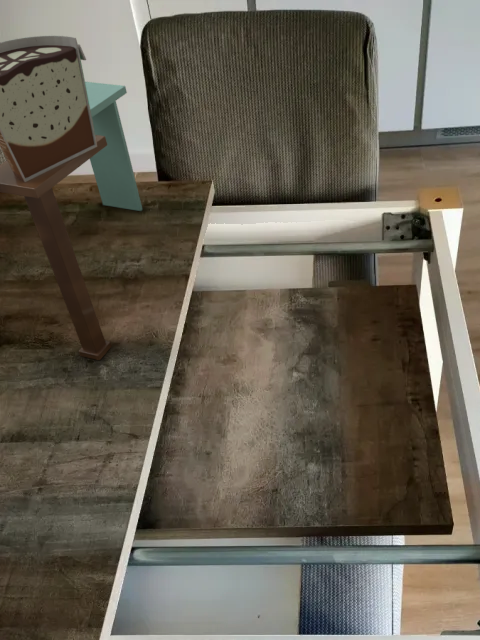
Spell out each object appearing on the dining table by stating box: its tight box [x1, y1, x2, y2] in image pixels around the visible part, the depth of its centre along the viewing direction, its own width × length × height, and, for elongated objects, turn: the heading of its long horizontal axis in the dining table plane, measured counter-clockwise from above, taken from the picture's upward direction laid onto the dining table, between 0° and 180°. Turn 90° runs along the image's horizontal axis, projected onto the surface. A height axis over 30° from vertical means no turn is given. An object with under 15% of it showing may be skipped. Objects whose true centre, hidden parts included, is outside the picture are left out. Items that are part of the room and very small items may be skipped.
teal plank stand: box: [85, 81, 143, 212], centre depth 96 cm, size 7×14×18 cm, turn 160°
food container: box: [0, 35, 97, 182], centre depth 64 cm, size 12×6×10 cm, turn 145°
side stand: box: [0, 135, 113, 361], centre depth 76 cm, size 7×12×22 cm, turn 160°
